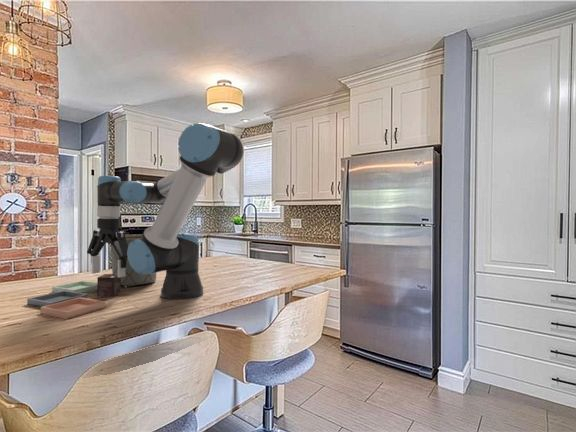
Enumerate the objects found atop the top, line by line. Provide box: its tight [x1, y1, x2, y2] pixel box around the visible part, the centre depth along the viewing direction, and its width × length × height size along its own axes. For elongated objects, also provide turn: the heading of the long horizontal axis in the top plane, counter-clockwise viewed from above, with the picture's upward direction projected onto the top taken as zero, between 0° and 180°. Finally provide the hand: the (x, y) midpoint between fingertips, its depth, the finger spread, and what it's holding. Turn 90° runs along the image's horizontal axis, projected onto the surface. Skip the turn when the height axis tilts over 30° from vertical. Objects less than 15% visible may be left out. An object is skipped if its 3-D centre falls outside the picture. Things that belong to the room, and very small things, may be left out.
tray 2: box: [51, 280, 97, 294], centre depth 131 cm, size 12×12×2 cm
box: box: [96, 273, 122, 298], centre depth 124 cm, size 6×6×7 cm
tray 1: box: [26, 291, 89, 308], centre depth 114 cm, size 12×12×2 cm
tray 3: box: [40, 297, 107, 320], centre depth 105 cm, size 12×12×2 cm
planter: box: [109, 234, 158, 288], centre depth 145 cm, size 19×19×20 cm
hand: (108, 274), depth 124 cm, fingers open, 13 cm apart
